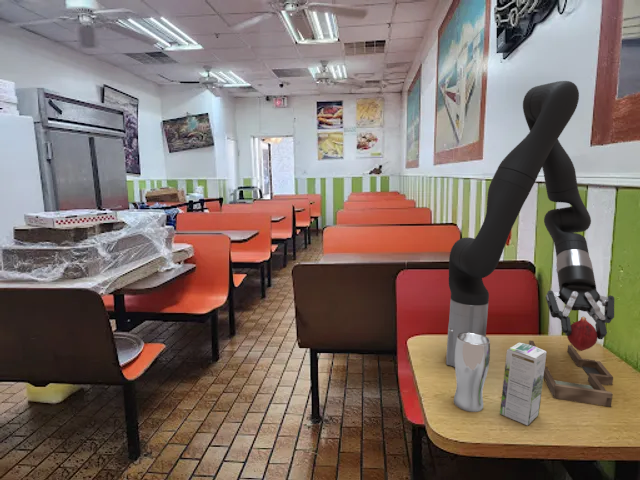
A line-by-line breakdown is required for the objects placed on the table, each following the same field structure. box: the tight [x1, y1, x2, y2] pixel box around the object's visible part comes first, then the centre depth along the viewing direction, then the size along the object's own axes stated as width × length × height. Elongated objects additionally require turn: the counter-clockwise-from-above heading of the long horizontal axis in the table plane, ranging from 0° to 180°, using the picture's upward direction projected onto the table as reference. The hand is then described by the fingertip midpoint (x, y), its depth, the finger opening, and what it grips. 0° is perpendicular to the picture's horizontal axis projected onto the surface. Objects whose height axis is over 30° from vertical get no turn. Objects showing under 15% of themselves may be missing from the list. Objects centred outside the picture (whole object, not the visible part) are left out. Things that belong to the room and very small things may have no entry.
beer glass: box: [453, 333, 491, 413], centre depth 87 cm, size 7×7×15 cm
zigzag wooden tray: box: [528, 340, 614, 408], centre depth 103 cm, size 19×30×3 cm, turn 163°
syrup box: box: [499, 342, 547, 427], centre depth 83 cm, size 6×6×14 cm
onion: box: [566, 316, 598, 352], centre depth 92 cm, size 6×6×8 cm
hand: (584, 335), depth 91 cm, fingers closed on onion, 5 cm apart
